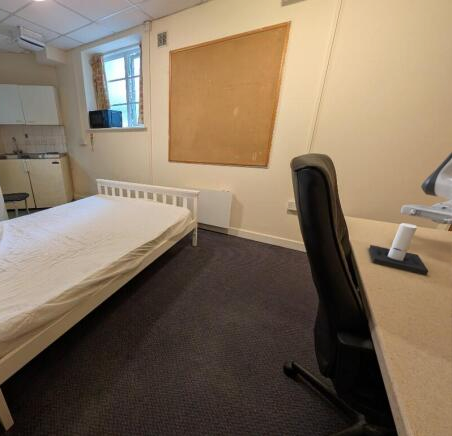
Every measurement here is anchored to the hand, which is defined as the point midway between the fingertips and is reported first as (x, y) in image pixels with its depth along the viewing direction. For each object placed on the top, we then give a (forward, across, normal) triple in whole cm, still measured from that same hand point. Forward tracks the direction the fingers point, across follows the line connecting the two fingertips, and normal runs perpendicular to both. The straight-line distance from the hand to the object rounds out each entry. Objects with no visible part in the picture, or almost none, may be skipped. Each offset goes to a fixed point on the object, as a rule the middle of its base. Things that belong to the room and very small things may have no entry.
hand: (428, 217), depth 84 cm
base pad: (+12, 0, +17) cm, 20 cm away
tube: (+12, -1, +17) cm, 21 cm away
